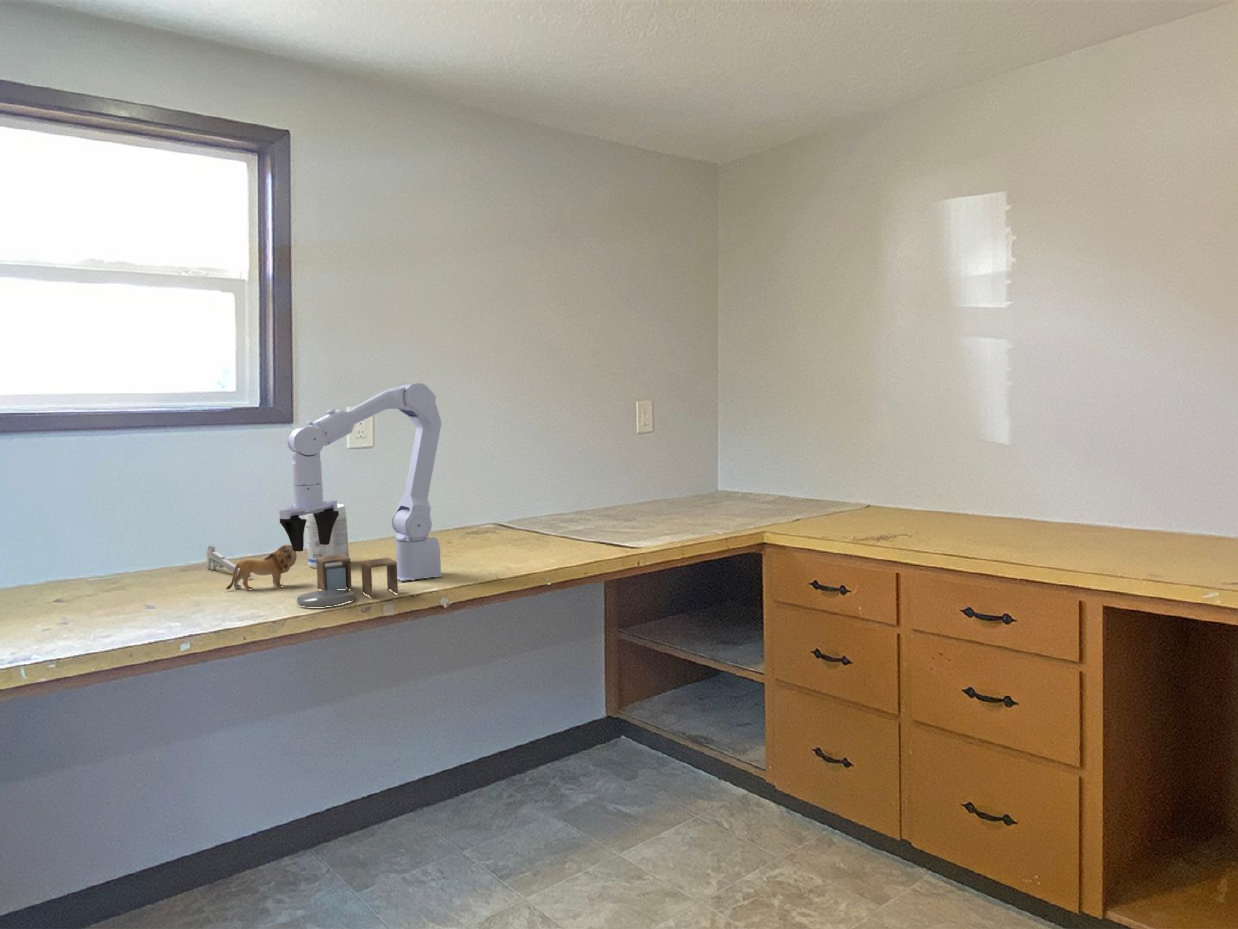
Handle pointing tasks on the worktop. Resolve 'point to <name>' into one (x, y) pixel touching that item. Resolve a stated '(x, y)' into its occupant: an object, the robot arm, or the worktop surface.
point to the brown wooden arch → (332, 559)
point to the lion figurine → (265, 566)
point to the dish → (325, 598)
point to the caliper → (219, 561)
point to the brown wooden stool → (367, 574)
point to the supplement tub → (337, 539)
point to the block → (335, 577)
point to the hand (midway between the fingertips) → (311, 547)
